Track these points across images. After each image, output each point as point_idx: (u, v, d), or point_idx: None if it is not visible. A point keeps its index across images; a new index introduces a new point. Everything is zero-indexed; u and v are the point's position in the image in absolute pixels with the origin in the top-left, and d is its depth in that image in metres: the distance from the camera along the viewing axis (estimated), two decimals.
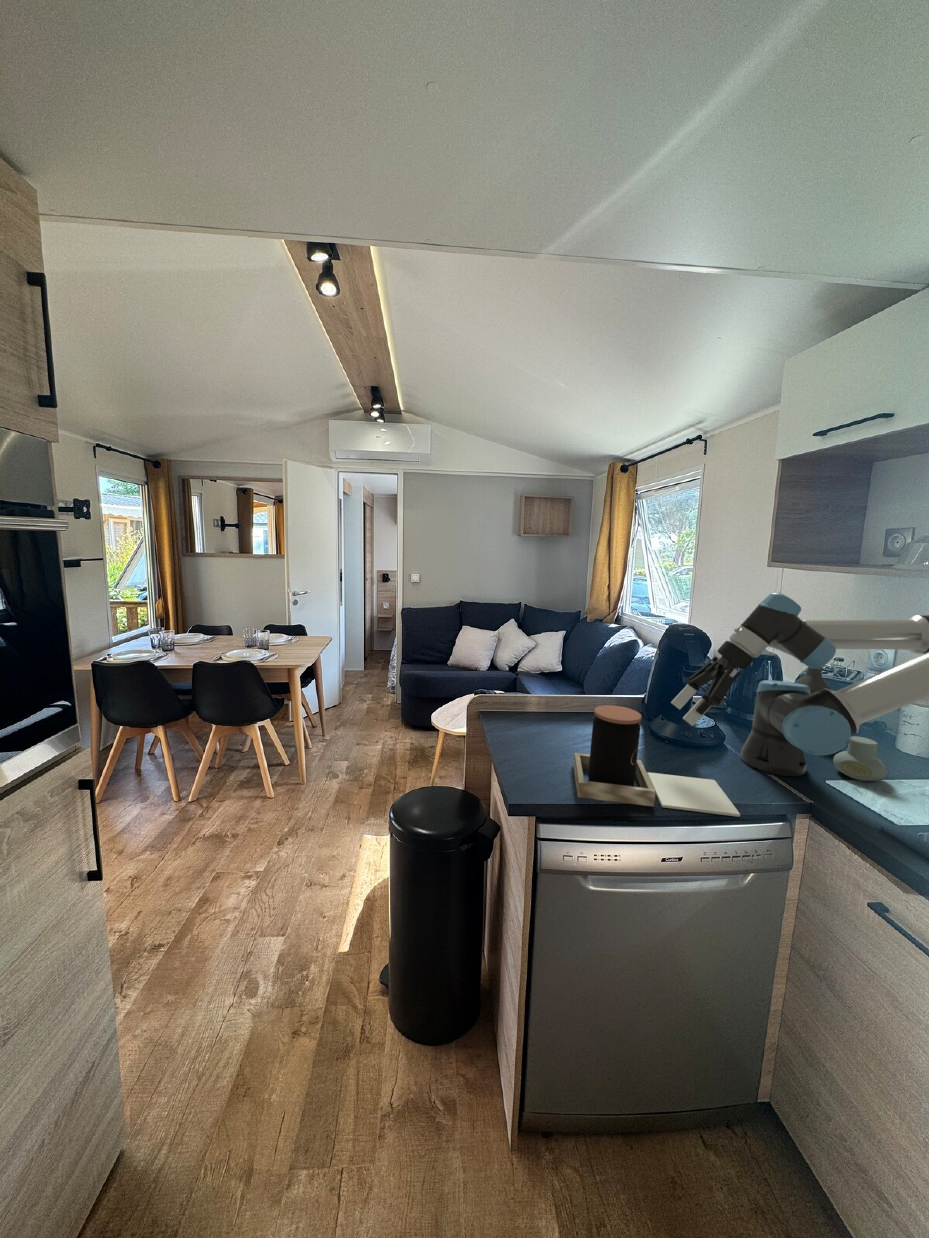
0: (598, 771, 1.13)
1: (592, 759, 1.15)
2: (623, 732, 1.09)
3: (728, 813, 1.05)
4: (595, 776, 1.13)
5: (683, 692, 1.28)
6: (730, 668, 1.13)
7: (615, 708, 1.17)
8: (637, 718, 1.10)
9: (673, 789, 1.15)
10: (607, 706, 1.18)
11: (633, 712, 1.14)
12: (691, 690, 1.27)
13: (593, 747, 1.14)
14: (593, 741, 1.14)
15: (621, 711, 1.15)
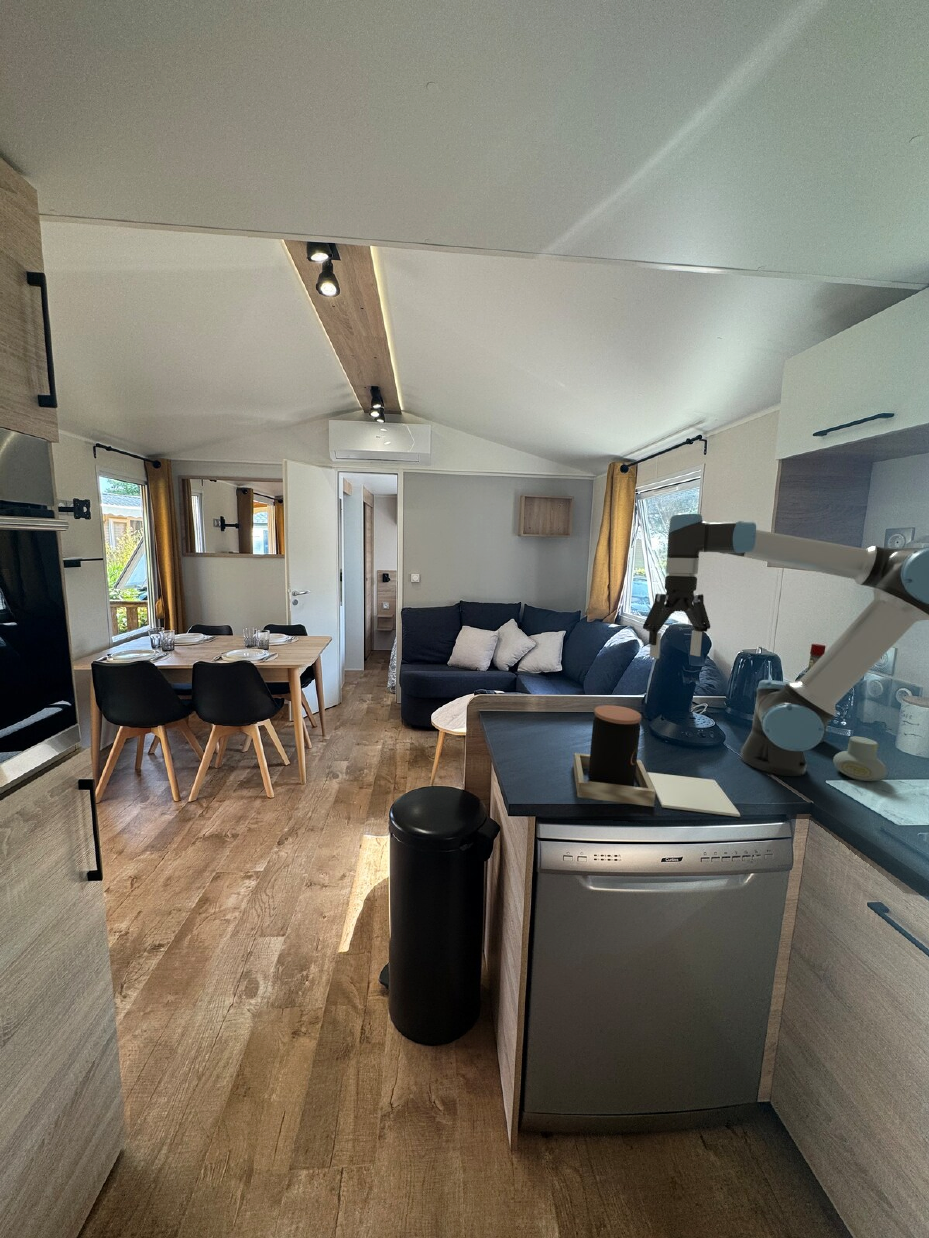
0: (598, 771, 1.13)
1: (592, 759, 1.15)
2: (623, 732, 1.09)
3: (728, 813, 1.05)
4: (595, 776, 1.13)
5: (692, 639, 1.30)
6: None
7: (615, 708, 1.17)
8: (637, 718, 1.10)
9: (673, 789, 1.15)
10: (607, 706, 1.18)
11: (633, 712, 1.14)
12: (696, 633, 1.29)
13: (593, 747, 1.14)
14: (593, 741, 1.14)
15: (621, 711, 1.15)
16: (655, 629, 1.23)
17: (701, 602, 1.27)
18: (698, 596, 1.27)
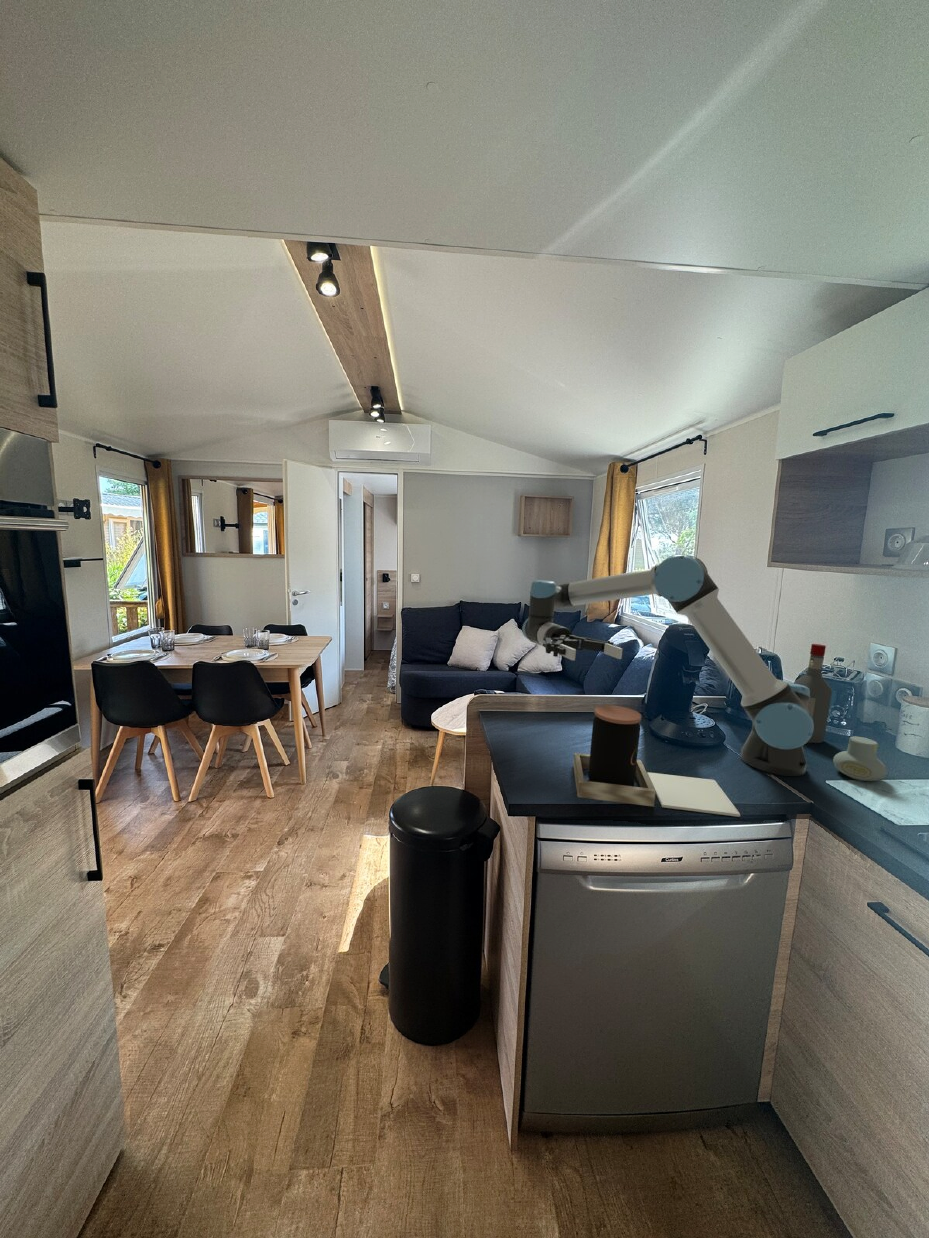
0: (598, 771, 1.13)
1: (592, 759, 1.15)
2: (623, 732, 1.09)
3: (728, 813, 1.05)
4: (595, 776, 1.13)
5: (609, 653, 1.27)
6: (543, 645, 1.34)
7: (615, 708, 1.17)
8: (637, 718, 1.10)
9: (673, 789, 1.15)
10: (607, 706, 1.18)
11: (633, 712, 1.14)
12: (605, 648, 1.29)
13: (593, 747, 1.14)
14: (593, 741, 1.14)
15: (621, 711, 1.15)
16: (554, 644, 1.25)
17: (588, 638, 1.37)
18: None
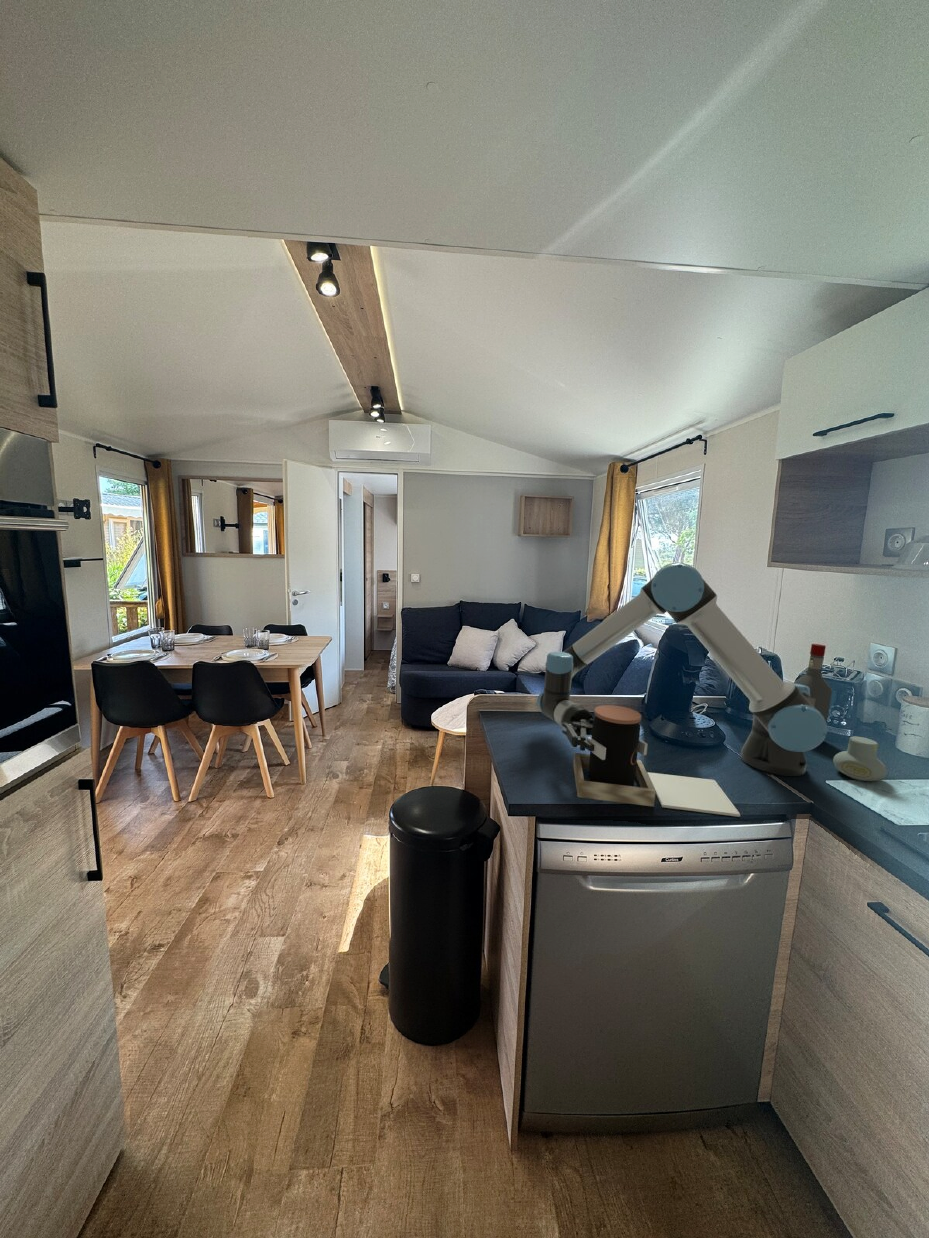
0: (598, 771, 1.13)
1: (592, 759, 1.15)
2: (623, 732, 1.09)
3: (728, 813, 1.05)
4: (595, 776, 1.14)
5: None
6: None
7: (615, 708, 1.17)
8: (637, 718, 1.10)
9: (673, 789, 1.15)
10: (607, 706, 1.18)
11: (633, 712, 1.14)
12: None
13: None
14: None
15: (621, 711, 1.15)
16: (581, 737, 1.16)
17: None
18: None
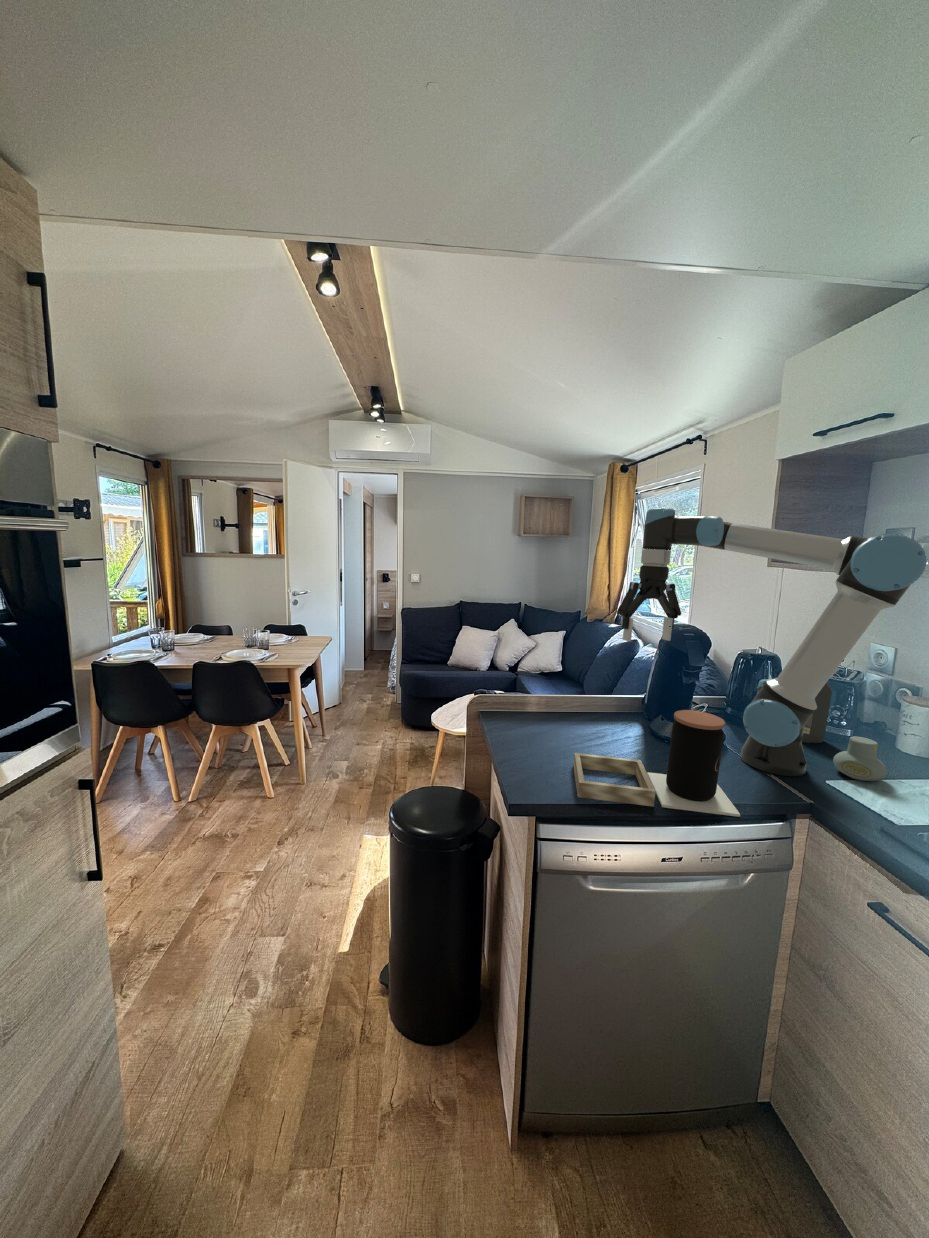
0: (680, 777, 1.10)
1: (672, 765, 1.12)
2: (709, 738, 1.06)
3: (728, 813, 1.05)
4: (676, 783, 1.11)
5: (664, 625, 1.41)
6: None
7: (694, 713, 1.14)
8: (722, 723, 1.08)
9: None
10: (686, 711, 1.15)
11: (714, 717, 1.12)
12: (667, 620, 1.40)
13: (674, 753, 1.11)
14: (674, 747, 1.11)
15: (702, 716, 1.12)
16: (628, 614, 1.34)
17: (673, 591, 1.38)
18: (670, 585, 1.38)
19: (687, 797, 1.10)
